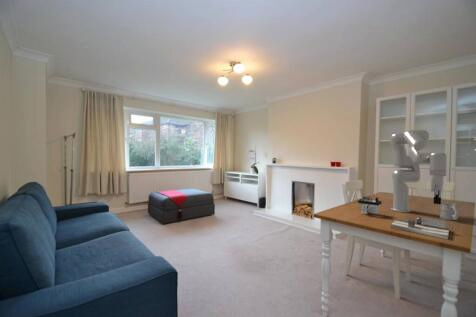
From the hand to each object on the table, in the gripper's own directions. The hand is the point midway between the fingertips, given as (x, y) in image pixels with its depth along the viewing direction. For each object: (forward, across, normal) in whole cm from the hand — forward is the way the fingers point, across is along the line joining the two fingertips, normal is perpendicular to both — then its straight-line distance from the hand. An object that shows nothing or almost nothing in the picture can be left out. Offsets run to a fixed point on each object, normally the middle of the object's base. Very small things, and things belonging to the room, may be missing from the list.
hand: (437, 203), depth 134 cm
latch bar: (+12, +6, -2) cm, 14 cm away
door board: (+15, +10, -7) cm, 19 cm away
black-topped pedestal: (+15, -5, -38) cm, 41 cm away
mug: (+14, -28, +4) cm, 32 cm away
